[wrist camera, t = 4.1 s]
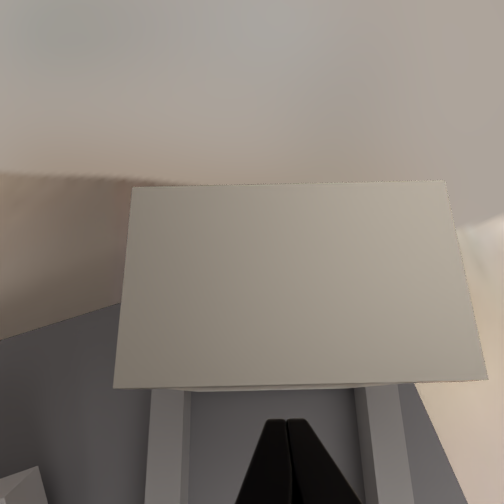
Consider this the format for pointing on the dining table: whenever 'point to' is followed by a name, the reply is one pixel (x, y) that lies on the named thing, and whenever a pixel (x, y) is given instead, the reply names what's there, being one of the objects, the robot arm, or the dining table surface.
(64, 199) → the dining table surface
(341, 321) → the slider button
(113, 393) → the control console
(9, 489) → the rocker switch
